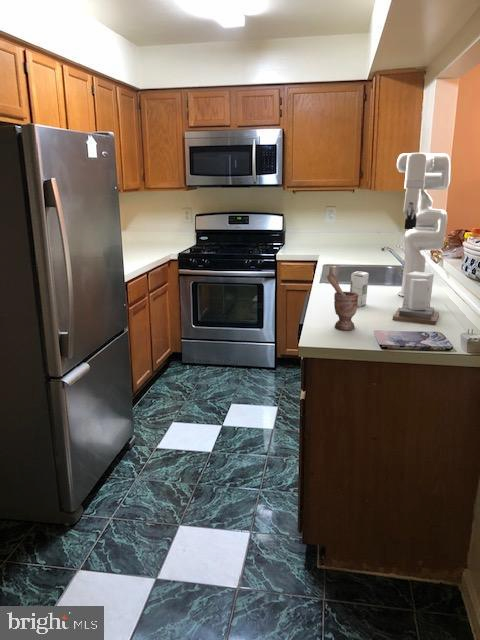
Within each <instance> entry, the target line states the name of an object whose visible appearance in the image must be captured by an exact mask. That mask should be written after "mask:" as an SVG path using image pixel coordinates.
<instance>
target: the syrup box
mask: <svg viewBox="0 0 480 640" xmlns="http://www.w3.org/2000/svg"><path fill="white" fill-rule="evenodd" d="M350 277H351V278H350V285H349V287H350V288H349V292H354V293H357V294H358V305H357V307H359V308H361V307H364V306H365V305H366V304H367V295H368V285H369V272H366V271H354V272H352V273H351V275H350Z"/></svg>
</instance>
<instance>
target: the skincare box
mask: <svg viewBox="0 0 480 640" xmlns="http://www.w3.org/2000/svg"><path fill="white" fill-rule="evenodd" d="M428 284H429V281H428V280H426V279H411V281H410V293H409V304H408V308H409V309H411V310H426V305H427V295H428Z"/></svg>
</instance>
